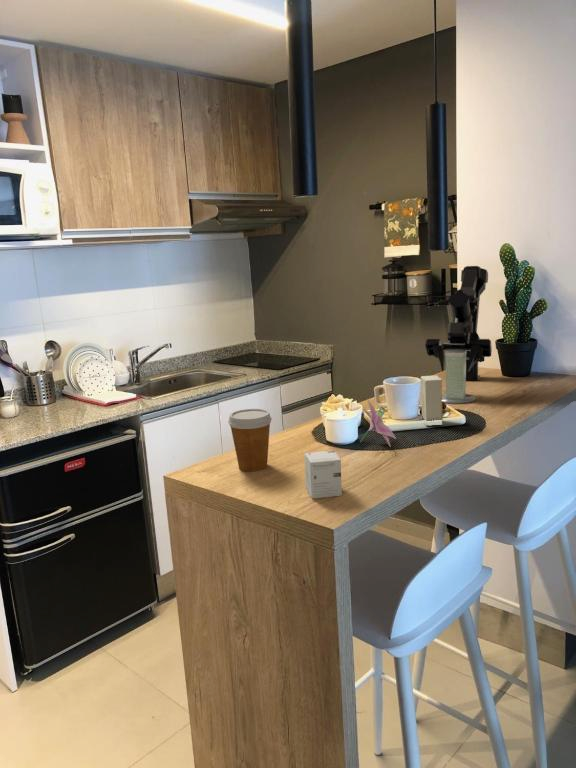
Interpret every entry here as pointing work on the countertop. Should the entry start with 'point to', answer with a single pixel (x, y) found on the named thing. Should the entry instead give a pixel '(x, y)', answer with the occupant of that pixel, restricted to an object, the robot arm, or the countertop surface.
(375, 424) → the lily
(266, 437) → the disposable coffee cup
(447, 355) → the sage tea tin
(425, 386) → the skincare box
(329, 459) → the skincare box
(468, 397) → the slate coaster
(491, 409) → the countertop surface
